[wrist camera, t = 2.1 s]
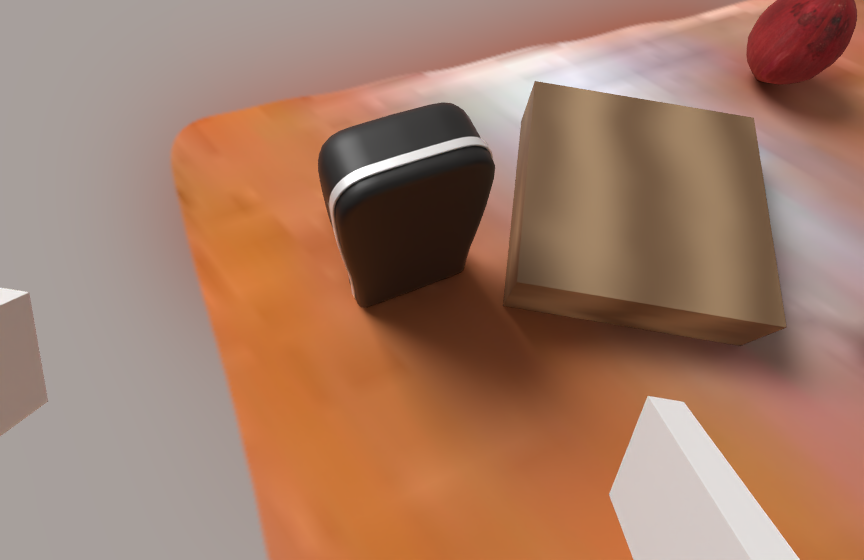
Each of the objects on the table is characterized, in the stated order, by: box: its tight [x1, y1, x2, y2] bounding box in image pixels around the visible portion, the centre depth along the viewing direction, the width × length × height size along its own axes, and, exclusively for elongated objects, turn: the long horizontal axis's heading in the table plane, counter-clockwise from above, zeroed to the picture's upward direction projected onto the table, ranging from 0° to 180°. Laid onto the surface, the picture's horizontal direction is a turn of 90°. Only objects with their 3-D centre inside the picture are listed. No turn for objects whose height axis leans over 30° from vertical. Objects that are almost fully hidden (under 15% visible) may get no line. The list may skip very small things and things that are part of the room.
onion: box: [747, 0, 857, 85], centre depth 32 cm, size 6×6×8 cm
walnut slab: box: [503, 81, 786, 346], centre depth 29 cm, size 14×14×4 cm
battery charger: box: [318, 103, 495, 308], centre depth 23 cm, size 7×4×11 cm, turn 113°
